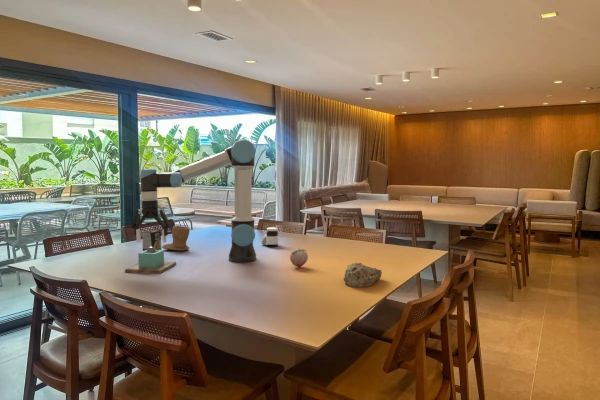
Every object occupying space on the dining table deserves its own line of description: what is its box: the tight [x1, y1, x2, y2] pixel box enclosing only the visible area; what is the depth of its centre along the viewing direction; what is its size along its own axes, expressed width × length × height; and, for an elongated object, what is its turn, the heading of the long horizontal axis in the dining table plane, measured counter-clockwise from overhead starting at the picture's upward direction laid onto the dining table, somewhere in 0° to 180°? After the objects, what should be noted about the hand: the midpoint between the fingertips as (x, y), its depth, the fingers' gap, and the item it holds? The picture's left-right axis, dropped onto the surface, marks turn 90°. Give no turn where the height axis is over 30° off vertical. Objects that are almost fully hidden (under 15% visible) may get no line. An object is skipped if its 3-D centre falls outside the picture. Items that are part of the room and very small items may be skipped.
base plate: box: [124, 261, 177, 274], centre depth 212 cm, size 18×18×2 cm
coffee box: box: [141, 229, 162, 252], centre depth 230 cm, size 9×6×16 cm
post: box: [147, 247, 155, 253], centre depth 212 cm, size 4×4×11 cm
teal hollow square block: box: [137, 249, 165, 268], centre depth 212 cm, size 9×9×7 cm
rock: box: [343, 262, 383, 288], centre depth 188 cm, size 21×14×10 cm
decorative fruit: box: [289, 248, 309, 268], centre depth 215 cm, size 9×8×10 cm
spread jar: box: [260, 226, 279, 248], centre depth 272 cm, size 12×11×12 cm
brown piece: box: [161, 225, 190, 252], centre depth 258 cm, size 15×12×15 cm
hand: (151, 242), depth 211 cm, fingers open, 13 cm apart
